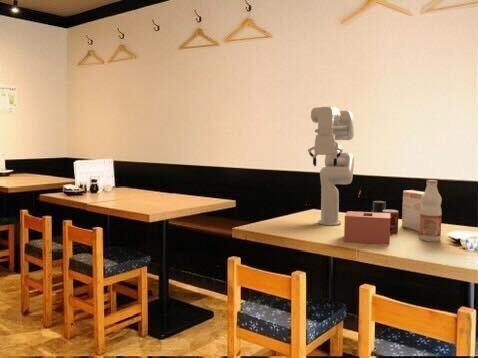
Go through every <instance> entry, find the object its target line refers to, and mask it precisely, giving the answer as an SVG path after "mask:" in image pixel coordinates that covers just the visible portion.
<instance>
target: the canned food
mask: <svg viewBox="0 0 478 358" xmlns="http://www.w3.org/2000/svg"><path fill="white" fill-rule="evenodd" d="M383 213H390V235H391V234H392V235H393V234H394V235H395V234H398V231H399V210H397V209H385V210H383Z"/></svg>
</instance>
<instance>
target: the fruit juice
mask: <svg viewBox="0 0 478 358" xmlns="http://www.w3.org/2000/svg"><path fill="white" fill-rule="evenodd" d="M425 182H426V183H425V184H426V187H425V190H424V191H423V192H424V193H423V195H422V196H421V203H422V206H421V208H420V227H419V231H418V232H419V233H418V237H419V239H420V240H421V241H426V242H439V241H440V240H441V235H442V233H441V232H442V215H443V214H442V211H443V210H442V207H441V205H442V201H443V199H442V196H441V194H440V192H439V189H438V186H437V185H438V180H435V179H426V181H425Z"/></svg>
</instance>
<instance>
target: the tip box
mask: <svg viewBox="0 0 478 358" xmlns="http://www.w3.org/2000/svg"><path fill="white" fill-rule="evenodd" d="M343 227H344V232H343V233H344V237H343V241H344V242H345V243H359V244H375V245H389V246H390V244H391V243H390V239H391V238H390V235H391V234H390V213H373V212H371V211H370V212H369V211H349V210H348V211H346V213H345V215H344V226H343Z"/></svg>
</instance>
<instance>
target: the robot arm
mask: <svg viewBox="0 0 478 358" xmlns="http://www.w3.org/2000/svg"><path fill="white" fill-rule="evenodd" d="M310 119H311V120H312V122H313V123H315V124H317V129H314V133H317V134H316V135H315V138H314V146H312V147H311V148H308V149H307V153H309V156H310V157H311V158H312V165H313V167H317V157H318V155H320V156H324V157H325V158H324V165H325V166H324V167H321V169H320V171H319V177H320V185H321V188H320V190H321V191H320V192H321V194H320V197H321V198H320V203H321V204H320V219H319V220H318V221H317V223H318V224H319V225H324V226H338V225H341V224H342V221H341V220H339V208H340V207H339V205H340V204H339V202H340V199H339V198H340V197H339V196H340V193H339V192H340V191H339V189H338V188H337V187H336V185H349V184H351V183H352V181H353V177H354V176H353V175H354V167H355V164H354V162H355V160H354V159H355V158H354V156H353V154H352V153H350V152H344V149H342V147H341V146H340V145H339V143H338V142H337V141H351V140H353V139H354V135H355V129H354V128H355V127H354V118H353V113H352V112H351V111H349V110H339V109H338V108H337V107H333V106H332V107H331V106H320V107H319V106H318V107H317V106H316V107H313V108H311V111H310ZM313 150H314V153H313V152H312V151H313Z"/></svg>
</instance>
